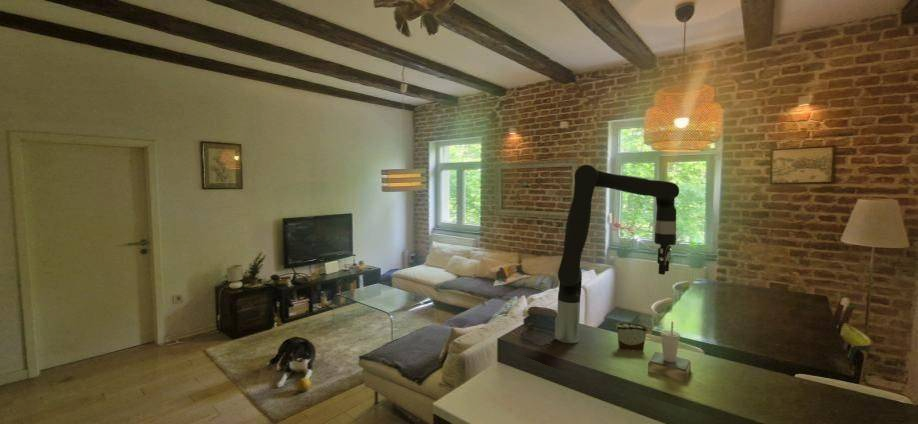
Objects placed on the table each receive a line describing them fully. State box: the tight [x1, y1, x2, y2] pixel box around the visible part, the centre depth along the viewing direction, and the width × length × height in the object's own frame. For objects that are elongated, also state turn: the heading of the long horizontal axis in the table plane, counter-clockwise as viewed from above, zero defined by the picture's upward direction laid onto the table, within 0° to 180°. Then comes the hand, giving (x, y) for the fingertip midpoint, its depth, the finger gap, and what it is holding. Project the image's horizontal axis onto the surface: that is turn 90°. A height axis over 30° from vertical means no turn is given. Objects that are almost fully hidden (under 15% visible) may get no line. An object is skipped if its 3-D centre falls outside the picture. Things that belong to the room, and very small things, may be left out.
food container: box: [615, 321, 649, 352], centre depth 160 cm, size 12×6×10 cm, turn 84°
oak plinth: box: [647, 351, 692, 383], centre depth 139 cm, size 12×11×4 cm
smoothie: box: [659, 321, 682, 362], centre depth 139 cm, size 6×6×14 cm
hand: (663, 272), depth 156 cm, fingers open, 8 cm apart
